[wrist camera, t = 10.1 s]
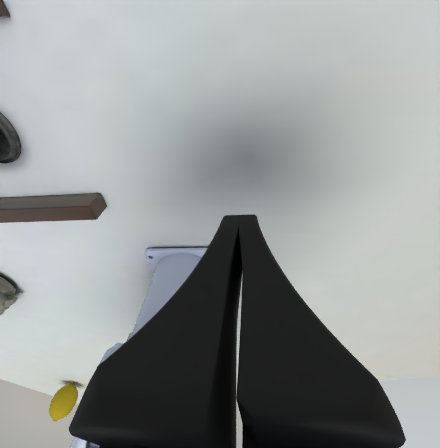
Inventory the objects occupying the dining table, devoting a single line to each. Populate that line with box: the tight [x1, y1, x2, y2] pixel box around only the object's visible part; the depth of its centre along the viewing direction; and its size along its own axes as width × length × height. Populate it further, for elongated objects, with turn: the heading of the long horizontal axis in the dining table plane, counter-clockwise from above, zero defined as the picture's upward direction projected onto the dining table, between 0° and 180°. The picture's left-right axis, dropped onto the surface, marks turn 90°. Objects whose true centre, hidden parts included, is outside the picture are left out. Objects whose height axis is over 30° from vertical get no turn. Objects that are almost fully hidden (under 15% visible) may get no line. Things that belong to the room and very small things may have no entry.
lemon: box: [49, 383, 78, 421], centre depth 60 cm, size 6×6×8 cm
